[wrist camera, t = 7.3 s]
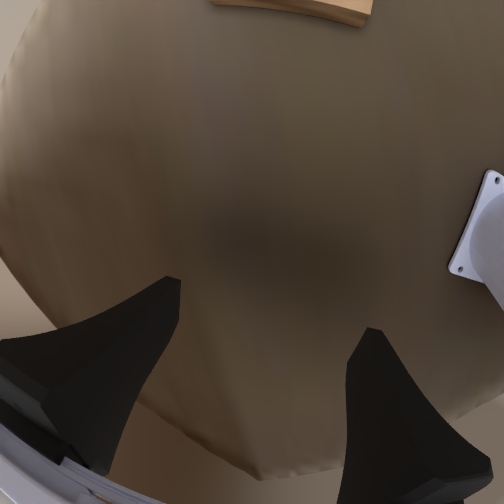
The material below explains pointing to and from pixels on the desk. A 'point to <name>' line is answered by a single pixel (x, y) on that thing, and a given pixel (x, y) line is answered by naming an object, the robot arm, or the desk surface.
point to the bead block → (315, 8)
